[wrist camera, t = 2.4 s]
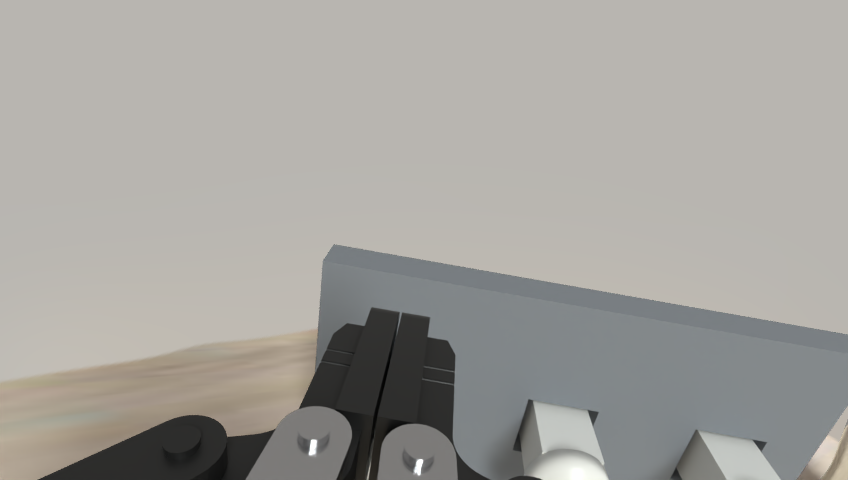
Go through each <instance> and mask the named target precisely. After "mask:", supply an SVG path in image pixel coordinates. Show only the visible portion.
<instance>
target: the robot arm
mask: <svg viewBox="0 0 848 480" xmlns="http://www.w3.org/2000/svg"><path fill="white" fill-rule="evenodd" d="M399 316H400V312H397V311H392V310H386V309H380V308H374V307H371V310H370V312H369V315H368V318H367V321H366V323H365V326H361V325H356V324H350V323H346V324H345V325H344V326H343V327H341V328H340V329H339V330H337V331H336V332H335V333H334V334H333V335H332V338H331V340H330V342H329V344H328V346H327V350H326V351H325V353H324V355H323V357H322V360H321V363H320V364H319V366H318V368H317V370H316V373H315V375H314V377H313V379H312V381H311V384H310V386H309V388H308V390H307V392H306V395H305V397H304V399H303V401H302V403H301V406H300V408H299V409H298V410H296V411H294V412H292V413H290V414H289V415H287V416H286V417H285V418H284V419H283V420H282V421H281V422H280V423H279V425H278V426H277V428H276V429H274V430H272V431H269V432H265V433H261V434H255V435H245V436H234V437H227V435H226V431H225V429H224V427H223V426H222V425H221V424H220V423H219V422H218V421H216V420H215V419H212V418H210V417H206V416H200V415H188V416H182V417H178V418H174V419H172V420H169V421H166V422H164V423H162V424H160V425H158V426H155V427H153V428H151V429H149V430H147V431H144V432H142V433H140V434H138V435H136V436H133V437H131V438H129V439H127V440H124V441H122V442H120V443H118V444H116V445H113V446H111V447H109V448H107V449H105V450H102V451H100V452H98V453H96V454H94V455H91V456H89V457H87V458H85V459H83V460H80V461H78V462H76V463H74V464H72V465H69V466H67V467H65V468H63V469H61V470H58V471H56V472H54V473H52V474H50V475H47V476H45V477H43V478H41V479H39V480H367V476H368V472H369V467H370V472H369V479H368V480H490V479H488V478H486V477H484V476H482V475H481V474H479V473H477V472H475V471H474V470H473V469H471V468H470V467H469V466H468V465H467V464H466V463H465V462H464V461H463V460H462V459H461V457H460V456H459V454H458V453H457V451H456V448H455V446H454V442H453V412H454V383H455V356H456V355H455V353H454V351H453V349H452V348H451V346H450V344H449V342H448V341H447V340H442V339H436V338H430V337H428V330H429V323H430V317H427V316H421V315H415V314H410V313H404V312H402V315H401V319H400V323H399ZM398 323H399V328H398ZM397 329H398V332H397ZM370 463H371V465H370ZM509 480H542V479H540V478H536V477H532V476H517V477H513V478H511V479H509Z"/></svg>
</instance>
